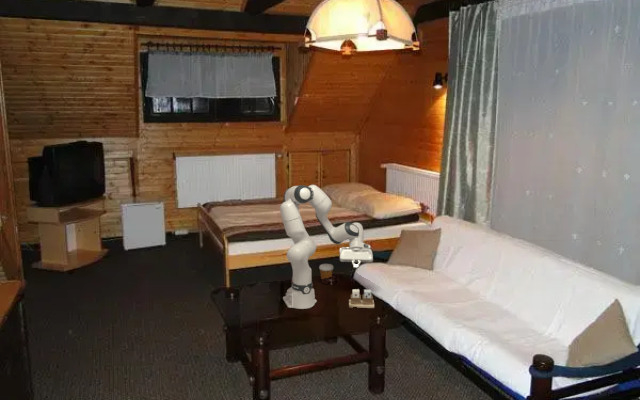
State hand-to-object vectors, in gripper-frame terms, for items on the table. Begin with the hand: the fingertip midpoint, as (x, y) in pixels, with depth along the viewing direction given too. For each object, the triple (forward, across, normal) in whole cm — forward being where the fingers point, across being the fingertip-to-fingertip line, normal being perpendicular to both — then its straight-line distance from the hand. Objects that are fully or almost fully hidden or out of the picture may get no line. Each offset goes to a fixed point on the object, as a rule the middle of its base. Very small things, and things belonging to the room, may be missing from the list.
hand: (356, 267), depth 321 cm
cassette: (0, -36, +30) cm, 47 cm away
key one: (+18, 0, +9) cm, 21 cm away
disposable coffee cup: (-5, -19, +35) cm, 41 cm away
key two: (+18, +7, +9) cm, 22 cm away
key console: (+19, +4, +10) cm, 22 cm away
